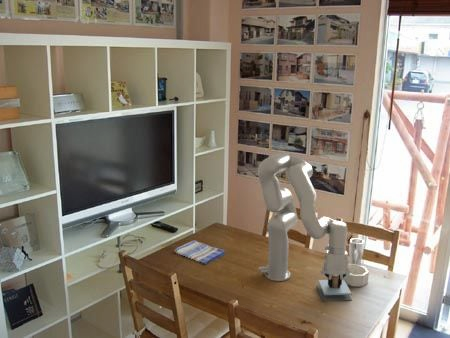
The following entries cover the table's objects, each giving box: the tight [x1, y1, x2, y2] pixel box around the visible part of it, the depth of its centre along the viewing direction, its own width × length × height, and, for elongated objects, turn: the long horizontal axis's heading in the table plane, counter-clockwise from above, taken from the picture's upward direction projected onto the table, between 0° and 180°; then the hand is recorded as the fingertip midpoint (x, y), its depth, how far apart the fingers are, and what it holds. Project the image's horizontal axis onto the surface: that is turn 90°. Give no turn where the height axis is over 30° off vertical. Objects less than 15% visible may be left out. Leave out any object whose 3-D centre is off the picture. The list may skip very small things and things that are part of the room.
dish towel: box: [173, 239, 226, 265], centre depth 251 cm, size 17×24×3 cm
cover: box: [318, 275, 352, 296], centre depth 210 cm, size 12×12×6 cm
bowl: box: [342, 263, 370, 288], centre depth 222 cm, size 12×12×6 cm
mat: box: [316, 284, 353, 302], centre depth 212 cm, size 13×13×1 cm
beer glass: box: [348, 237, 365, 266], centre depth 233 cm, size 7×7×15 cm
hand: (334, 285), depth 211 cm, fingers closed on cover, 3 cm apart
